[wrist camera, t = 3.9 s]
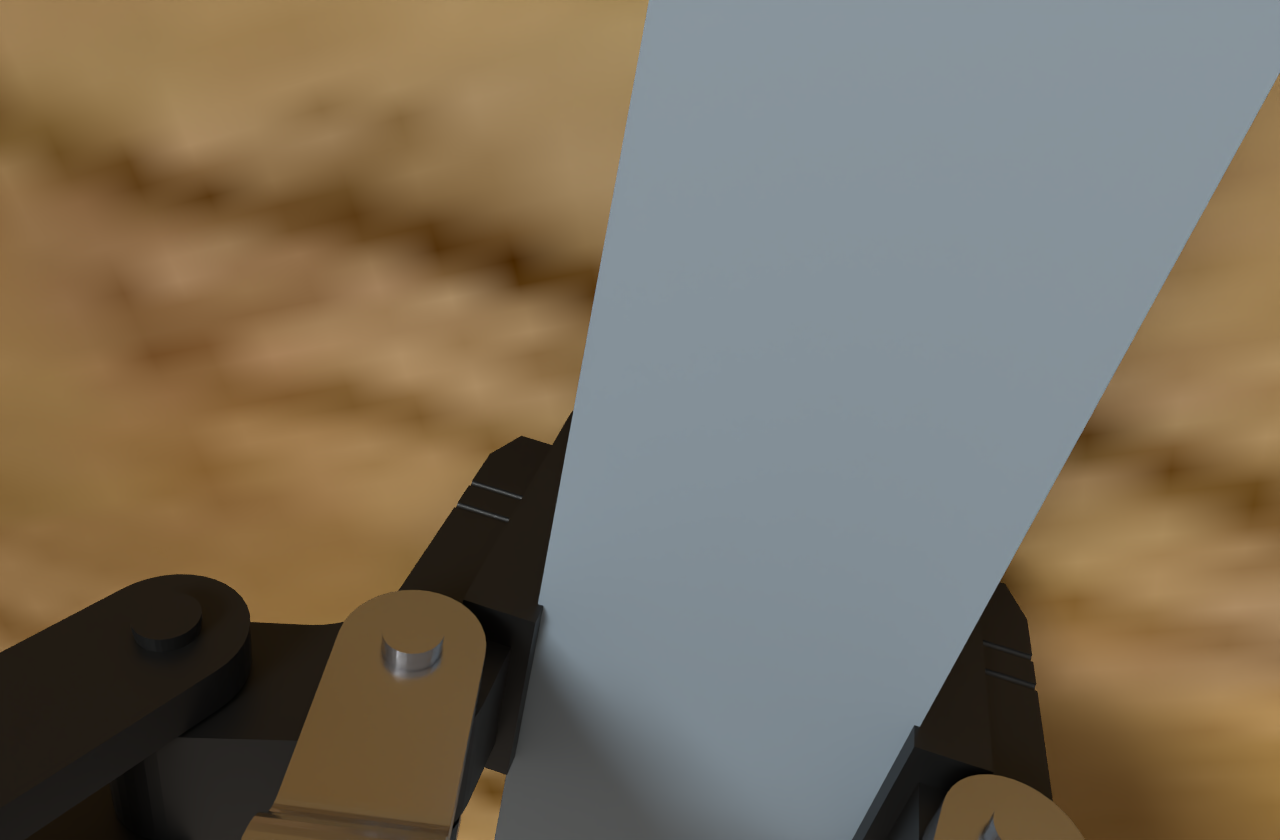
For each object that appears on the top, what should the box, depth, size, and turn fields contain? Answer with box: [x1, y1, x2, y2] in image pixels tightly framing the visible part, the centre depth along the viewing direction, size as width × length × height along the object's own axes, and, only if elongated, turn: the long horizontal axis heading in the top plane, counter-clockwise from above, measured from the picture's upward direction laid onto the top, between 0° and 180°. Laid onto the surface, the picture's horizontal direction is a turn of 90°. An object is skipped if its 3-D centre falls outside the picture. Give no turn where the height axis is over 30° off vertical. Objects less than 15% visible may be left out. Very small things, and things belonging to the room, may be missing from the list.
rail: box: [494, 0, 1280, 840], centre depth 11 cm, size 18×4×4 cm, turn 169°
